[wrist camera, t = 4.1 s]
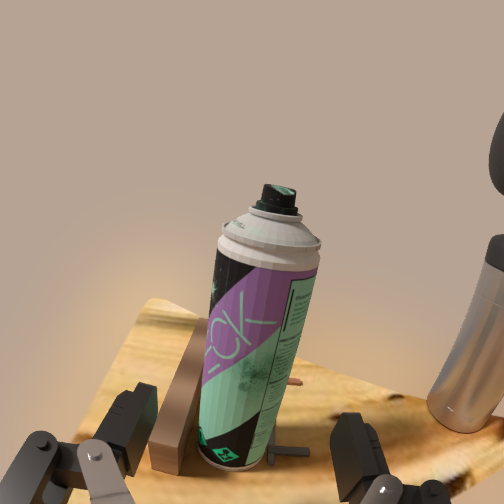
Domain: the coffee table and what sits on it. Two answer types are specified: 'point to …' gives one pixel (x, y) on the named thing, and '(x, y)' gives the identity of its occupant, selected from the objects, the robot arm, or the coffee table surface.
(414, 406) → the coffee table surface
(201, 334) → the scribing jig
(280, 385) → the spray can
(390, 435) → the coffee table surface
